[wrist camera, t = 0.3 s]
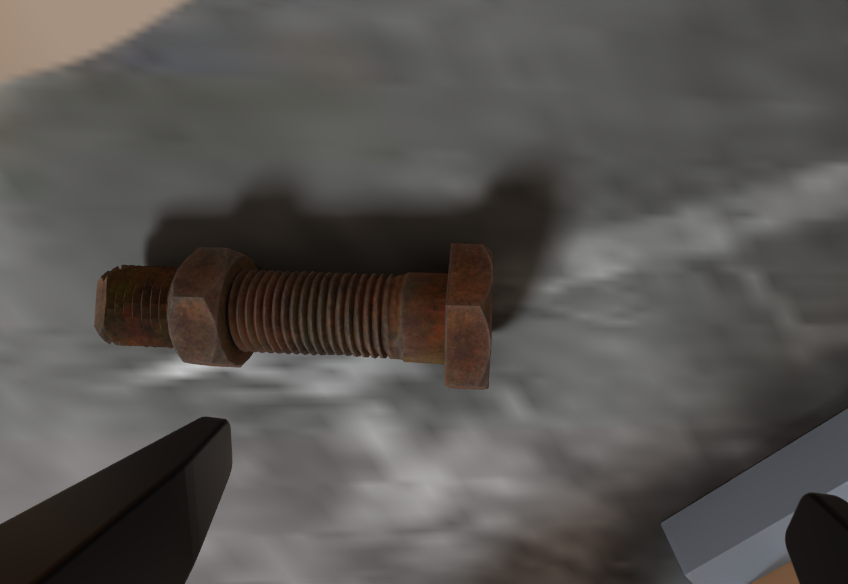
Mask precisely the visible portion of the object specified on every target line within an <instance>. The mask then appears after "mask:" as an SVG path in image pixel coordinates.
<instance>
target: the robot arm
mask: <svg viewBox="0 0 848 584" xmlns="http://www.w3.org/2000/svg"><path fill="white" fill-rule="evenodd" d="M231 468H232V444H231V427H230V424H229V422H228V421H227V420H226V419H221V418H213V417H201V418H199V419H197V420H195V421H193V422H191V423H189V424H187V425H186V426H184V427H182V428H180V429H178V430H176V431H174V432H172V433H171V434H169V435H167V436H165V437H163V438H161V439H159V440H157V441H156V442H154V443H152V444H150V445H148V446H146V447H144V448H142V449H141V450H139V451H137V452H135V453H133V454H131V455H129V456H127V457H126V458H124V459H122V460H120V461H118V462H116V463H114V464H112V465H111V466H109V467H107V468H105V469H103V470H101V471H99V472H97V473H96V474H94V475H92V476H90V477H88V478H86V479H84V480H82V481H81V482H79V483H77V484H75V485H73V486H71V487H69V488H67V489H66V490H64V491H62V492H60V493H58V494H56V495H54V496H52V497H51V498H49V499H47V500H45V501H43V502H41V503H39V504H37V505H36V506H34V507H32V508H30V509H28V510H26V511H24V512H22V513H20V514H19V515H17V516H15V517H13V518H11V519H9V520H7V521H5V522H4V523H2V524H0V584H185V582H186V580H187V578H188V576H189V574H190V572H191V570H192V568H193V566H194V564H195V562H196V559H197V557H198V554H199V552H200V550H201V547H202V545H203V542H204V540H205V537H206V535H207V532H208V529H209V527H210V524H211V522H212V519H213V517H214V514H215V512H216V509H217V507H218V504H219V502H220V499H221V497H222V494H223V491H224V489H225V486H226V484H227V481H228V479H229V476H230V473H231ZM785 544H786V548H787V551H788V554H789V557H790V559H791V562H792V565H793V568H794V570H795V573H796V576H797V578H798V581H799V584H848V502H847V501H845V500H843V499H842V498H840V497H838V496H835V495H831V494H823V493H815V492H809V493H806V494H804V495H803V496H802V497H801V499H800V501H799V503H798V505H797V507H796V510H795V512H794V514H793V516H792V518H791V521H790V523H789V525H788V527H787V529H786V533H785Z"/></svg>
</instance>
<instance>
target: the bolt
mask: <svg viewBox="0 0 848 584" xmlns="http://www.w3.org/2000/svg"><path fill="white" fill-rule="evenodd" d="M121 266H122V267H121V269H119V267H118V266H117V267H115V268H114V269H112V270H111V271H107V272H106V273H105V274H104V275H102V276H101V278H100V279H99V280H98V283H97V294H96V307H95V324H94V327H95V328H96V330H97V332H98V334H99V335H100V336H101V338H102V339H103V340H104V341H106V342H107V343H109V344H110V343H111V342H113V343H114V344H115V345H121V346H127V345H128V346H133V345H134V346H145V347H149V346H152V347H169V348H175V350H176V352H177V354H178V355H179V357H180V358H181V360H182V361H183V362H185V363H191V364H198V365H207V366H220V367H241V366H242V365H243V364H244V363H245V362H246V361H247V360H248V359H249V358H250V357H251V355H252V354H253V352H257V351H258V352H261V353H264V352H268V353H274V352H277V353H283V352H284V353H286V354H290V353H294V354H299V353H302V354H304V355H307V354H309V353H310V354H312V355H316V354H320V355H326V354H327V355H334V354H337V355H343V354H345V355H346V356H350V355H352V354H353V356H355V357H358V356H361V354H362V356H363V357H369V356H370V355H371V357H372V358H377V357H378V356H380V357H381V358H387V356H389V358H390V359H401V360H403V361H404V362H416V363H431V364H445V365H444V385H445V386H446V387H448V388H458V389H481V390H484V389H488V387H489V370H490V355H491V336H492V296H493V275H494V274H493V254H492V252H491V251H490V249H489V248H487V247H486V246H484V245H483V244H467V243H451V249H450V260H449V272H448V273H416V272H408V273H406V274H404V275H397V276H394V275H393V274H390V275H389V276H388V278H386V276H385V274H381V275H380V276H379V278H378V277H377V274H374V273H373V274H372V275H371V276H370V277H369V275H368V274H367V273H366V274H362V276H361V275H360V274H358V273H355V274H354V275H353V276H352V274H351V273H345V274H344V275H343V274H342V273H340V272H338V273H335V274H334V273H332V272H328V273H324V272H319V273H316V272H314V271H312V272H311V273H308V272H306V271H303V272H301V273H300V272H299V271H294V272H293V273H292V272H290V271H288V270H287V271H285V272H283V271H281V270H278V271H277V272H275V271H273V270H269V271H268V272H267V271H266V270H260V271H259V270H258V268H257V266H256V264H255V263H254V262H253V260H252V259H251V258H250V257H248V256H246V255H244V254H242V253H240V252H238V251H235V250H232V249H229V248H220V247H198V248H197V249H196V250H195V251H194V252H193V253H192V254H191V255H190V256H188V257H187V258H186V259H185V261H184V262H183V263H182V264H181V265H180V267H158V266H154V267H151V266H135V265H129V266H128V265H121Z"/></svg>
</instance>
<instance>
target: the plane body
mask: <svg viewBox="0 0 848 584" xmlns="http://www.w3.org/2000/svg"><path fill="white" fill-rule="evenodd" d="M809 492H815V493H823V494H831V495H835V496H838V497H840V498H842V499H843V500H845V501H847V502H848V408H847V409H846V410H844V411H843V412H841V413H839V414H838V415H836V416H834V417H833V418H831V419H829V420H828V421H826V422H825V423H823V424H821V425H820V426H818V427H816V428H815V429H813V430H812V431H810V432H808V433H807V434H805V435H803V436H802V437H800V438H799V439H797V440H795V441H794V442H792V443H790V444H789V445H787V446H786V447H784V448H782V449H781V450H779V451H777V452H776V453H774V454H772V455H771V456H769V457H768V458H766V459H764V460H763V461H761V462H759V463H758V464H756V465H755V466H753V467H751V468H750V469H748V470H746V471H745V472H743V473H742V474H740V475H738V476H737V477H735V478H733V479H732V480H730V481H729V482H727V483H725V484H724V485H722V486H720V487H719V488H717V489H715V490H714V491H712V492H711V493H709V494H707V495H706V496H704V497H702V498H701V499H699V500H698V501H696V502H694V503H693V504H691V505H689V506H688V507H686V508H685V509H683V510H681V511H680V512H678V513H676V514H675V515H673V516H672V517H670V518H668V519H667V520H665V521H663V522H662V523H660V524H661V526H662V528H663V531H664V533H665V535H666V537H667V539H668V541H669V543H670V546H671V548H672V550H673V552H674V554H675V556H676V558H677V561H678V563H679V565H680V567H681V569H682V571H683V573H684V575H685V576H686V577H687V578H688V579H689V581H690V582H691V583H692V584H799V581H798V578H797V576H796V573H795V570H794V568H793V565H792V562H791V559H790V557H789V554H788V551H787V548H786V544H785V533H786V529H787V527H788V525H789V523H790V521H791V518H792V516H793V514H794V512H795V510H796V507H797V505H798V503H799V501H800V499H801V497H802V496H803V495H804V494H806V493H809Z"/></svg>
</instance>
